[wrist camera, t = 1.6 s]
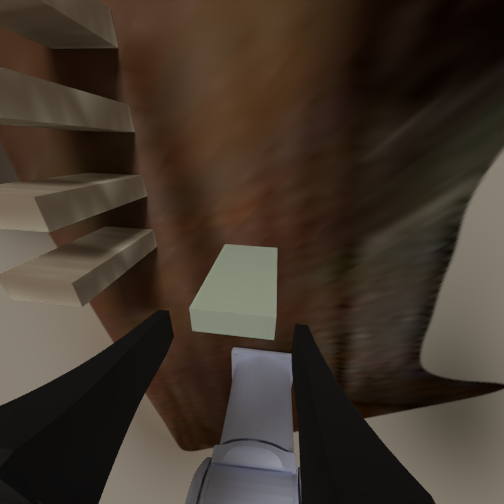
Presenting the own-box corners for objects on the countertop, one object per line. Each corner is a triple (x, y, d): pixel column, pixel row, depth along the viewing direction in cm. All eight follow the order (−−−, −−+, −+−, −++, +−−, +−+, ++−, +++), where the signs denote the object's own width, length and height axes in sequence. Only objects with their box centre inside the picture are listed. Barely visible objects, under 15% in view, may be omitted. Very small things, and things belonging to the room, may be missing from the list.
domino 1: (275, 264, 20) (274, 340, 12) (225, 260, 21) (192, 330, 13) (277, 248, 20) (276, 317, 12) (225, 244, 20) (189, 308, 12)
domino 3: (147, 196, 19) (49, 232, 11) (95, 193, 19) (-35, 226, 11) (143, 175, 18) (33, 196, 10) (89, 172, 18) (-57, 191, 10)
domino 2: (157, 246, 21) (82, 307, 13) (110, 242, 21) (10, 299, 13) (153, 229, 20) (71, 283, 12) (105, 226, 21) (-4, 275, 13)
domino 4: (134, 132, 16) (-1, 117, 8) (76, 130, 17) (-105, 115, 9) (129, 104, 16) (-27, 59, 8) (68, 103, 16) (-139, 60, 8)
